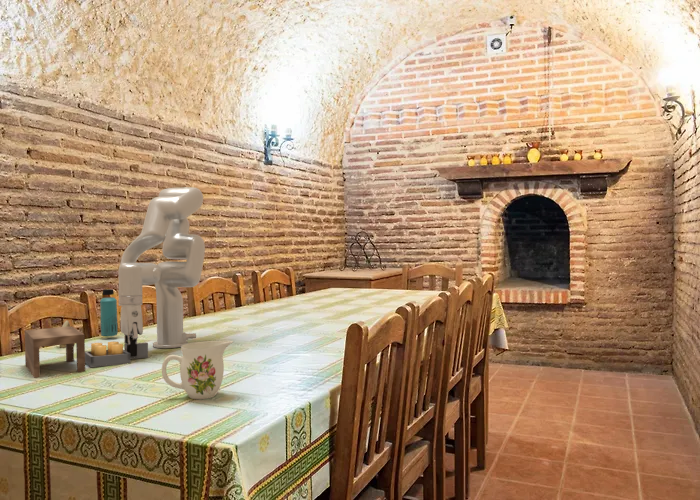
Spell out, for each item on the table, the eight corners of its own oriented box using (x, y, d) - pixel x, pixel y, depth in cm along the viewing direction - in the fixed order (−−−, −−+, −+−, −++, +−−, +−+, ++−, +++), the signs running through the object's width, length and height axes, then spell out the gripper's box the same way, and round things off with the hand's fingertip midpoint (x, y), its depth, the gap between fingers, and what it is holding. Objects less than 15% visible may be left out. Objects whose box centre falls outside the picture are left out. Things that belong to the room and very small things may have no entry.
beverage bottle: (111, 340, 238) (111, 290, 237) (97, 339, 239) (96, 289, 239) (121, 337, 244) (120, 288, 244) (106, 337, 246) (105, 288, 245)
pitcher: (163, 393, 158) (162, 341, 158) (232, 388, 163) (231, 337, 163) (161, 404, 148) (160, 349, 147) (235, 398, 152) (234, 345, 152)
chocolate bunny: (52, 347, 224) (51, 320, 224) (70, 343, 231) (70, 318, 231) (62, 348, 222) (61, 321, 221) (80, 345, 229) (79, 318, 228)
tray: (142, 356, 209) (142, 338, 209) (151, 361, 200) (152, 343, 200) (83, 361, 198) (83, 343, 198) (91, 367, 189) (91, 348, 189)
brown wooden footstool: (72, 360, 201) (72, 326, 201) (85, 371, 184) (84, 334, 184) (25, 365, 193) (24, 330, 193) (34, 377, 176) (33, 339, 176)
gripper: (149, 302, 197) (149, 358, 197) (135, 298, 210) (135, 351, 210) (125, 303, 192) (125, 360, 192) (112, 299, 205) (112, 353, 205)
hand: (130, 355), depth 201 cm, fingers closed on tray
